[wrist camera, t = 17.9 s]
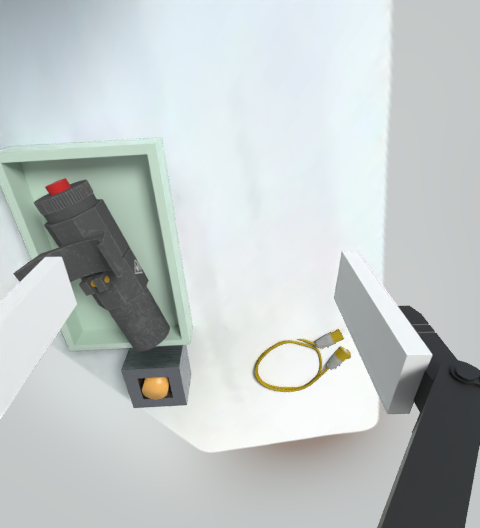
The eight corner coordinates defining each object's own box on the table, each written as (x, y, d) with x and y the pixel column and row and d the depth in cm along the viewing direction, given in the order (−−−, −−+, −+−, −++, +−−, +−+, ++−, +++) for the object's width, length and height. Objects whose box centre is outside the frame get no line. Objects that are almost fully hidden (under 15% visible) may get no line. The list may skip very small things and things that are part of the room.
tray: (9, 146, 36) (-14, 153, 33) (162, 137, 36) (155, 143, 33) (80, 332, 50) (69, 351, 46) (192, 326, 50) (189, 344, 46)
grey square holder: (132, 340, 51) (121, 370, 45) (184, 337, 51) (179, 367, 45) (143, 376, 55) (133, 407, 49) (191, 373, 54) (186, 405, 49)
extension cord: (349, 378, 57) (353, 388, 55) (259, 391, 58) (260, 401, 56) (347, 324, 51) (352, 333, 49) (247, 340, 52) (248, 349, 50)
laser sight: (125, 329, 49) (102, 384, 40) (31, 188, 38) (-29, 221, 29) (186, 312, 47) (176, 365, 38) (106, 160, 37) (67, 186, 28)
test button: (147, 356, 50) (139, 383, 46) (171, 355, 50) (165, 381, 46) (151, 373, 52) (144, 400, 48) (174, 371, 52) (169, 398, 48)
